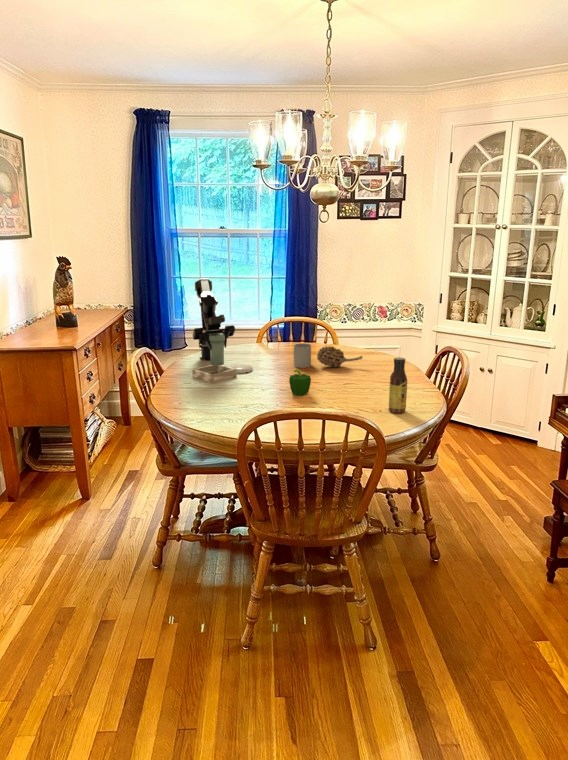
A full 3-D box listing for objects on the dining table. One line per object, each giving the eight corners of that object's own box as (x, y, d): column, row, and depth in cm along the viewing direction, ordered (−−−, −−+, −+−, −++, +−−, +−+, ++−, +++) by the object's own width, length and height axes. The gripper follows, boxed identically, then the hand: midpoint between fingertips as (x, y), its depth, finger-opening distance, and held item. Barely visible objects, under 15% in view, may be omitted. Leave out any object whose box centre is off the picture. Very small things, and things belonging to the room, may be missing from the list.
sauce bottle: (404, 415, 202) (406, 361, 196) (386, 413, 204) (389, 360, 198) (407, 409, 208) (410, 357, 202) (390, 407, 210) (392, 355, 204)
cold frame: (192, 377, 253) (192, 369, 252) (216, 370, 262) (216, 363, 261) (212, 382, 243) (211, 375, 242) (236, 376, 253) (236, 368, 252)
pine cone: (316, 369, 263) (316, 348, 260) (317, 364, 272) (317, 344, 270) (363, 370, 261) (364, 349, 258) (362, 364, 270) (363, 344, 268)
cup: (313, 366, 268) (314, 346, 265) (298, 368, 265) (297, 348, 262) (306, 362, 275) (306, 342, 272) (291, 364, 272) (291, 344, 270)
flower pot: (206, 363, 253) (205, 335, 249) (218, 361, 258) (218, 333, 254) (216, 366, 248) (215, 337, 245) (228, 364, 253) (228, 335, 249)
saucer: (221, 370, 263) (221, 368, 263) (240, 365, 271) (240, 363, 271) (238, 375, 255) (238, 372, 255) (257, 370, 263) (257, 367, 263)
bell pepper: (314, 395, 225) (314, 371, 222) (296, 398, 221) (296, 374, 218) (303, 390, 232) (303, 366, 229) (286, 393, 228) (286, 369, 225)
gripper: (192, 310, 246) (200, 340, 240) (233, 307, 253) (241, 336, 246) (189, 324, 255) (196, 353, 249) (228, 321, 262) (236, 349, 256)
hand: (218, 348), depth 250 cm, fingers closed on flower pot, 6 cm apart
